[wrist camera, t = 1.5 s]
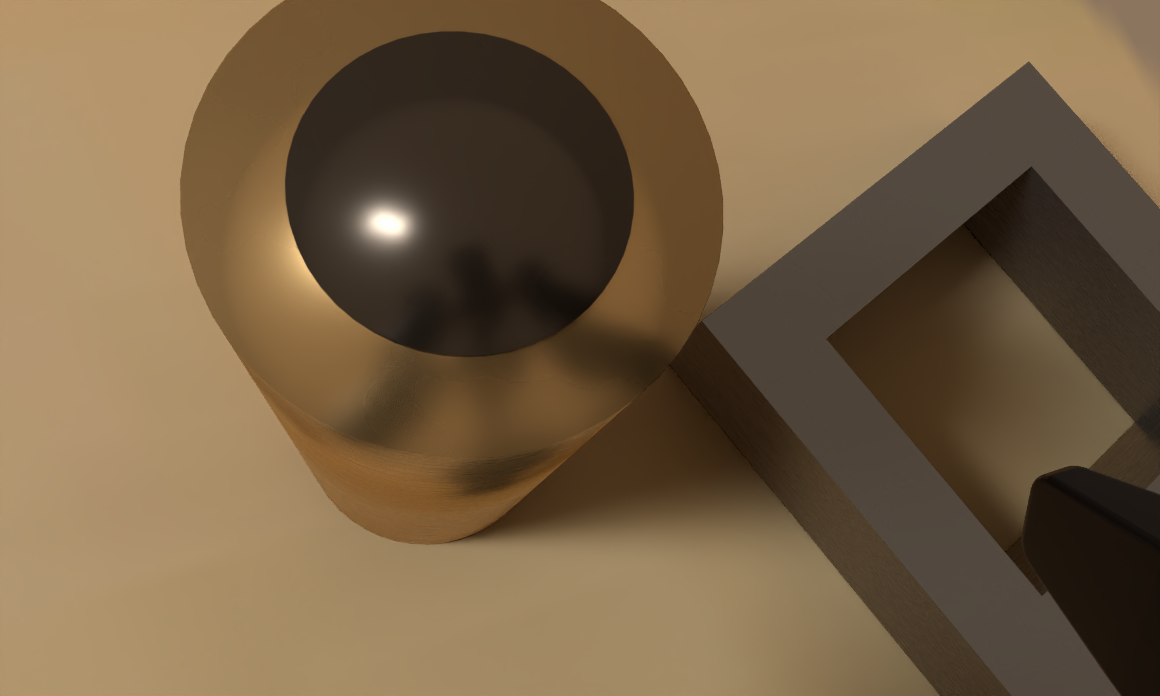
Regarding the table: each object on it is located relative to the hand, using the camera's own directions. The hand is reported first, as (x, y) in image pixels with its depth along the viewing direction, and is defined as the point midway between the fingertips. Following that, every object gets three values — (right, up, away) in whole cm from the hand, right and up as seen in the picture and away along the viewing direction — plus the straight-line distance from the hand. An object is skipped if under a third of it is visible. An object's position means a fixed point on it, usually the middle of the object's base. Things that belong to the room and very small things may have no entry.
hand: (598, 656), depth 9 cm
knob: (-3, +1, +13) cm, 13 cm away
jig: (+10, 0, +15) cm, 18 cm away
